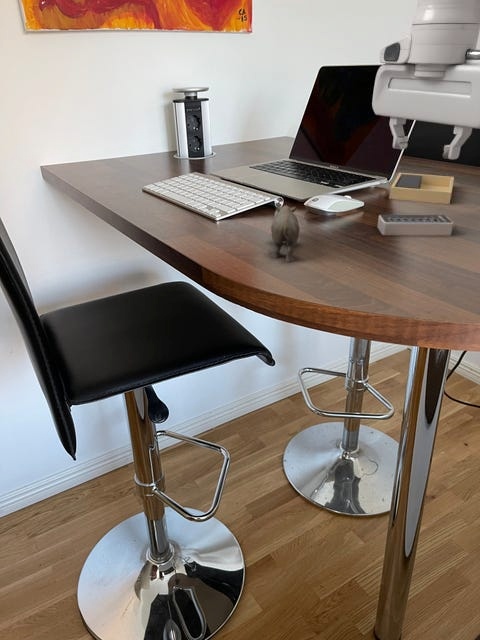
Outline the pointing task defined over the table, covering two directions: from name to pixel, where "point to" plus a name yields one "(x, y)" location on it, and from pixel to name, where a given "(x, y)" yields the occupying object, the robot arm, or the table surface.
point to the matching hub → (410, 181)
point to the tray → (425, 189)
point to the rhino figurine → (285, 231)
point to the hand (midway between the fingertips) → (423, 153)
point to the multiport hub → (415, 225)
